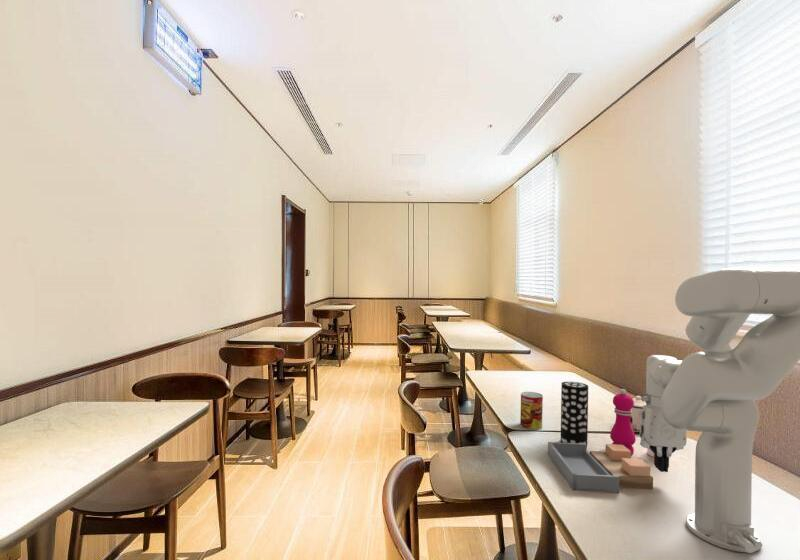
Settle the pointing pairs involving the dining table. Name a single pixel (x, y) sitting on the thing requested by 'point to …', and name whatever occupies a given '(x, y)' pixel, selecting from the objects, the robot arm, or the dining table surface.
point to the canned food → (531, 410)
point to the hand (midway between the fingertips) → (661, 469)
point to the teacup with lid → (636, 413)
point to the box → (581, 468)
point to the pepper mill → (623, 421)
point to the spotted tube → (574, 412)
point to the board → (622, 472)
